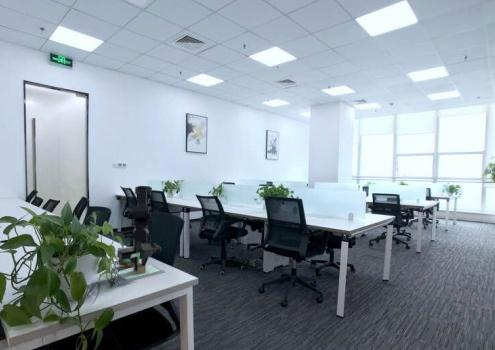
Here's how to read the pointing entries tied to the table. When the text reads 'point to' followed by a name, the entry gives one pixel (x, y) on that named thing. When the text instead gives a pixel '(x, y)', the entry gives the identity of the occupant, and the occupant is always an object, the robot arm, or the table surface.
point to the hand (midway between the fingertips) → (139, 270)
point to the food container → (127, 262)
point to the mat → (138, 278)
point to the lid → (138, 272)
